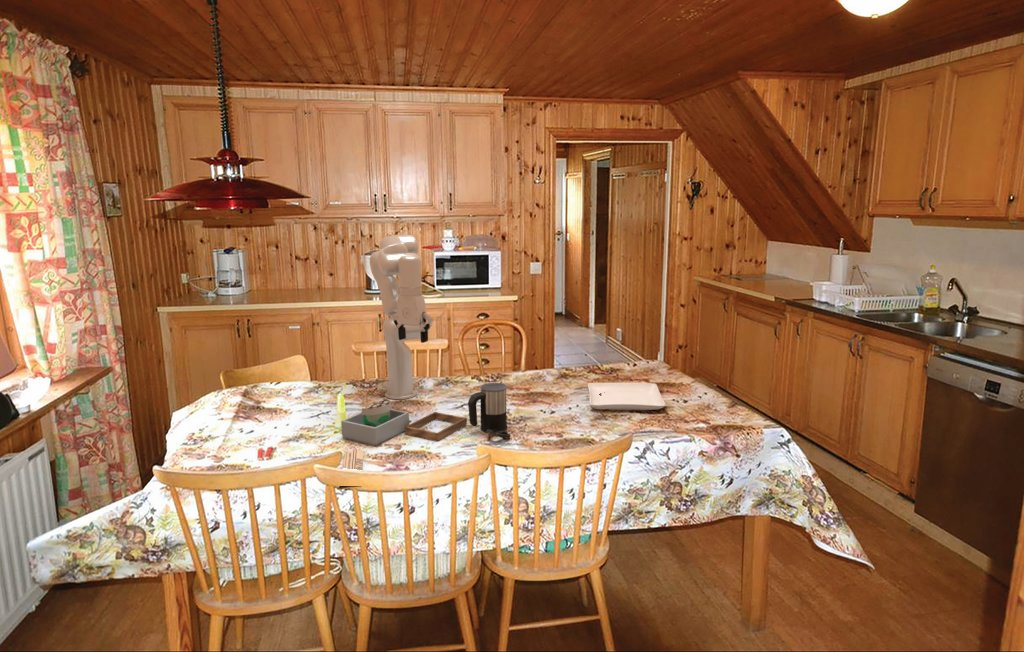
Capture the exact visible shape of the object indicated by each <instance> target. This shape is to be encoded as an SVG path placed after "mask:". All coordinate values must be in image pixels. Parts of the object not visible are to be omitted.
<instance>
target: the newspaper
mask: <svg viewBox="0 0 1024 652" xmlns="http://www.w3.org/2000/svg"><path fill="white" fill-rule="evenodd" d="M364 453H365V451H364V450H361V449H351V450H349V449H348V450H347V451H344V452H343V457H342V463H341V464H342V465H341V469H342V468H347V469H357V470H364V469H363V468H364Z"/></svg>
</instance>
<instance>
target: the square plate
mask: <svg viewBox="0 0 1024 652" xmlns="http://www.w3.org/2000/svg"><path fill="white" fill-rule="evenodd" d="M587 388H588V394H589V395H588V396H589V400H588V401H589V403H588V404H589V406H590V407H592V408H593V409H596V410H605V409H609V410H608V411H652V410H653V411H654V410H657V411H658V410H661V409H663V408H664V407H666V402H665V401H664V397H663V396H662V394H661V392H660V390H659V387H658V384H657V383H652V382H651V383H648V382H646V383H645V382H589V383H587ZM604 392H605V393H604ZM600 393H602V396H600V395H599V394H600ZM622 409H623V410H622Z"/></svg>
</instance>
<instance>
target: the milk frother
mask: <svg viewBox="0 0 1024 652" xmlns="http://www.w3.org/2000/svg"><path fill="white" fill-rule="evenodd" d="M479 388H480V390H481V391H479V392H475V393H473V394H472V395H471V396H470V397H469V398H468V403H467V405H468V416H469V424H470V425H471V426H472V427H477V426H478V415H477V414H478V411H477V403H478V402H479V401H480V430H481V431H483V432H485V433H488V434H490V435H493V436H496V437H499V438H502V439H504V440H506V439H508V438H511V433H510V432H509V433H508V431H506V430H507V429H508V428H509V426H508V422H507V421H508V420H507V388H508V385H507V384H504V383H501V382H490V383H489V382H488V383H483V384H481V385H480V386H479Z"/></svg>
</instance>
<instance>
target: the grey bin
mask: <svg viewBox="0 0 1024 652" xmlns="http://www.w3.org/2000/svg"><path fill="white" fill-rule="evenodd" d="M361 414H362V411H361V412H359V413H356V414H355V415H352V416H349V417H346V418H345V419H343V420H341V421H340V422H341V423H340V424H341V434H342V435H341V438H342V439H344V440H349V441H352V442H356V443H361V444H365V445H369V446H372V447H373V446H374V447H379V446H380V445H382V444H384V443H386V442H388V441H390V440H391V439H394V438H395V437H398V436H400V435H401V434H403V433H404V434H405V427H406V426H408V425H410V414H409V412H408V411H403V410H398V409H393V408H392V409H391V410H390V420H389V421H387V422H385V423H383V424H381V425H379V426H377V427H371V426H367V425H364V419H363V415H361Z"/></svg>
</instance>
